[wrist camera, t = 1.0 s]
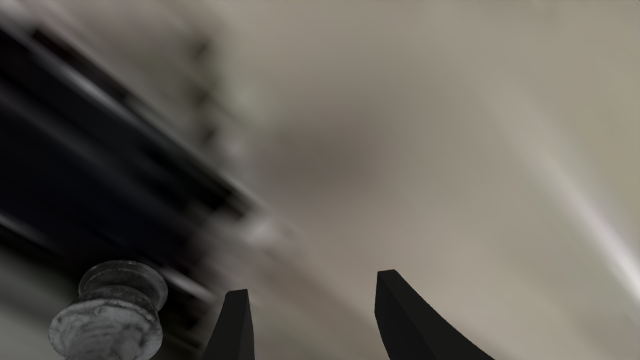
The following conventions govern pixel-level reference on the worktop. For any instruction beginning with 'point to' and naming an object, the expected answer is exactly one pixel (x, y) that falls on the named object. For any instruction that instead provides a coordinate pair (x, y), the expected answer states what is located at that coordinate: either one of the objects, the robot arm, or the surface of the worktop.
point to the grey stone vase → (112, 314)
